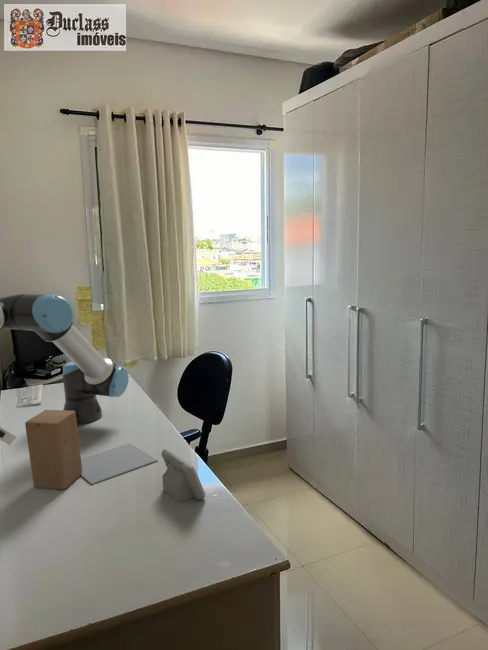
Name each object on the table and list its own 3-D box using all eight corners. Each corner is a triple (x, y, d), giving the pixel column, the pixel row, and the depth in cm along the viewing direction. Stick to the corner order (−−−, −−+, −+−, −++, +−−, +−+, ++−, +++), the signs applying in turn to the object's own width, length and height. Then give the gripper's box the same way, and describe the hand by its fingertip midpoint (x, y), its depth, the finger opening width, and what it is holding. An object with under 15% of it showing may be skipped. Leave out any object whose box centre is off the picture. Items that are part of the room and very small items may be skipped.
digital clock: (207, 501, 130) (206, 464, 129) (175, 510, 127) (173, 471, 125) (188, 475, 145) (187, 442, 143) (158, 482, 141) (156, 448, 140)
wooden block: (64, 490, 138) (56, 423, 134) (33, 488, 140) (24, 422, 136) (83, 472, 147) (75, 410, 143) (53, 471, 149) (45, 409, 145)
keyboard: (19, 390, 235) (19, 386, 235) (42, 387, 239) (42, 383, 238) (14, 409, 208) (14, 405, 208) (41, 406, 212) (40, 401, 211)
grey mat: (129, 444, 168) (129, 443, 168) (157, 461, 155) (157, 460, 155) (67, 464, 154) (66, 463, 154) (91, 484, 141) (91, 483, 141)
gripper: (-83, 401, 123) (-5, 445, 136) (-74, 414, 113) (10, 459, 127) (-61, 376, 125) (14, 422, 139) (-50, 387, 116) (29, 435, 129)
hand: (12, 440), depth 133 cm, fingers closed
